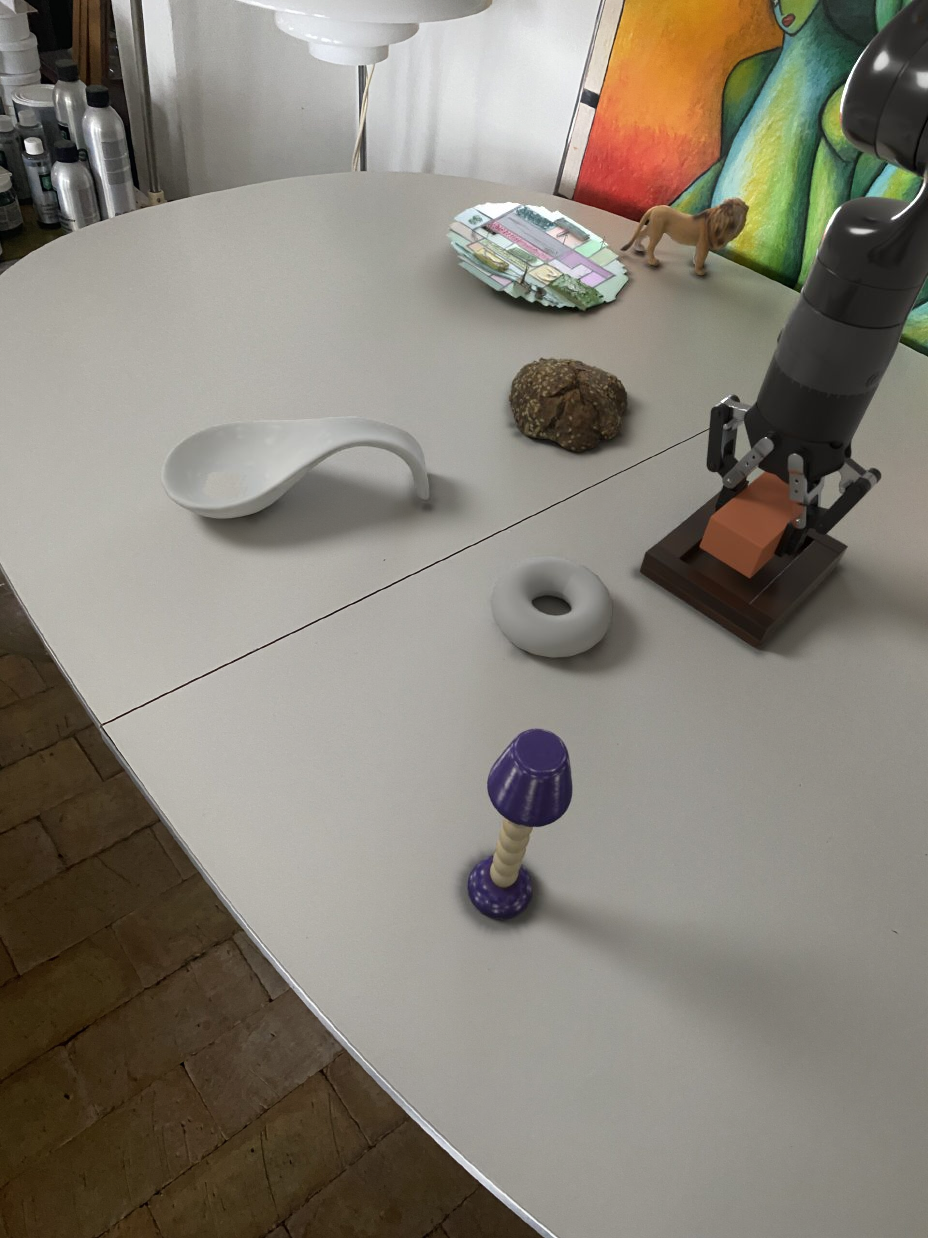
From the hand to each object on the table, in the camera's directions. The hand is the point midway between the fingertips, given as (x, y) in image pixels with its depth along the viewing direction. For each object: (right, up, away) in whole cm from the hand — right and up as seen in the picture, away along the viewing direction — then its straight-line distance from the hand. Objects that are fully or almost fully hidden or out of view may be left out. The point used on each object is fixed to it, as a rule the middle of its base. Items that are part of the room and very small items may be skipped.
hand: (753, 533), depth 74 cm
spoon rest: (-40, +4, +6) cm, 41 cm away
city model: (-16, +37, +37) cm, 54 cm away
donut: (-18, -7, -2) cm, 19 cm away
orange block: (0, 0, 0) cm, 0 cm away
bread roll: (-14, +14, +17) cm, 26 cm away
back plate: (0, -3, +3) cm, 4 cm away
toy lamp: (-22, -25, -17) cm, 38 cm away
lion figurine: (+3, +39, +40) cm, 56 cm away
